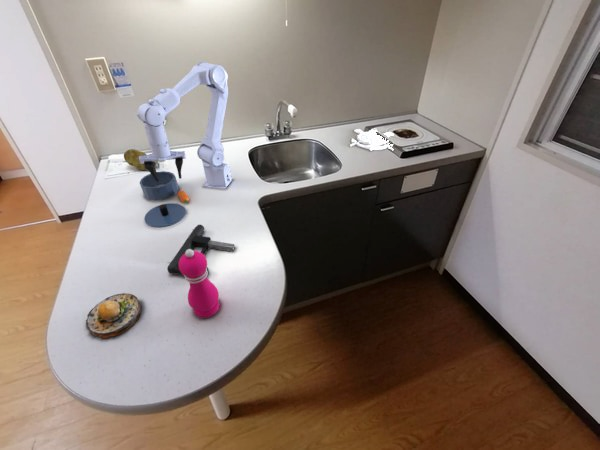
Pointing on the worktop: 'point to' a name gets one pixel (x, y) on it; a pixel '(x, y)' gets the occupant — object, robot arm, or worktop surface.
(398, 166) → the worktop surface
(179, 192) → the carrot
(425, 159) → the worktop surface
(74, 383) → the worktop surface
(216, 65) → the robot arm
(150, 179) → the pot
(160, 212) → the lid
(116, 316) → the burger on plate
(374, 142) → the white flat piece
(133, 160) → the potato
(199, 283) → the pepper mill
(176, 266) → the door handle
